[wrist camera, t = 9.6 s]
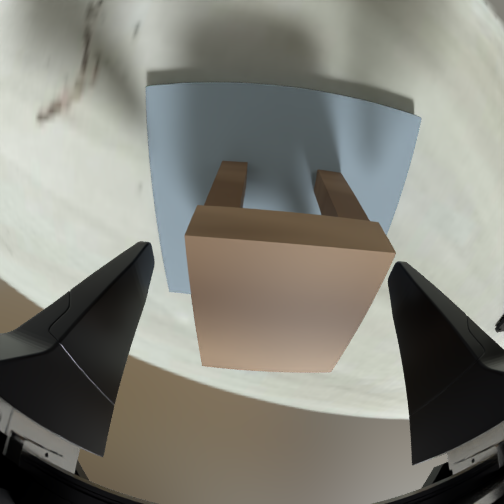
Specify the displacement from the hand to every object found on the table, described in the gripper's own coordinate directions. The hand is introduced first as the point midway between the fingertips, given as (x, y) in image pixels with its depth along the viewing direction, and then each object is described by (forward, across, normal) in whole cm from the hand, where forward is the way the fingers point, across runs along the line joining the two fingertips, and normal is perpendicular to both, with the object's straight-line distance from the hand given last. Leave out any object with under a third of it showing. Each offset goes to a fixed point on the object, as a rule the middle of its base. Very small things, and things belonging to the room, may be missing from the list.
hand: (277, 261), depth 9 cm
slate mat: (+4, 0, 0) cm, 4 cm away
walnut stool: (+3, 0, 0) cm, 3 cm away
